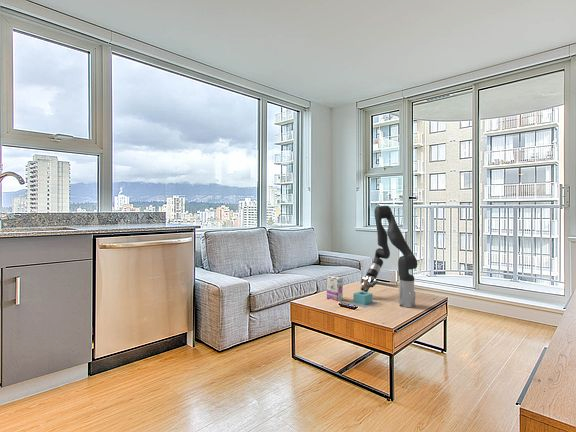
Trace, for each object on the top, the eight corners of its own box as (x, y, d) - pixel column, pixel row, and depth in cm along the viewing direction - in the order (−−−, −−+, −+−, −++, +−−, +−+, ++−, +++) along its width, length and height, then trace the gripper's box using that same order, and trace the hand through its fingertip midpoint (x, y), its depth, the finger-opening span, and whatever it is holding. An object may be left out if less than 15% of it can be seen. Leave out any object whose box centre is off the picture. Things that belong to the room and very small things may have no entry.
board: (378, 304, 226) (378, 302, 226) (365, 309, 215) (365, 307, 215) (361, 299, 236) (361, 298, 236) (347, 304, 225) (347, 302, 225)
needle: (368, 299, 237) (368, 279, 237) (365, 299, 235) (366, 280, 235) (364, 298, 239) (364, 278, 239) (362, 299, 237) (362, 279, 237)
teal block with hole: (372, 302, 226) (372, 293, 226) (364, 305, 220) (364, 296, 220) (361, 299, 233) (361, 290, 233) (353, 302, 227) (353, 293, 227)
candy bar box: (342, 301, 232) (343, 278, 231) (337, 302, 229) (337, 279, 228) (331, 297, 241) (331, 275, 240) (326, 299, 238) (326, 276, 237)
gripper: (363, 266, 247) (353, 285, 239) (380, 269, 236) (370, 289, 229) (367, 272, 250) (357, 291, 243) (384, 275, 240) (374, 295, 232)
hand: (363, 290), depth 236 cm, fingers closed on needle, 3 cm apart
